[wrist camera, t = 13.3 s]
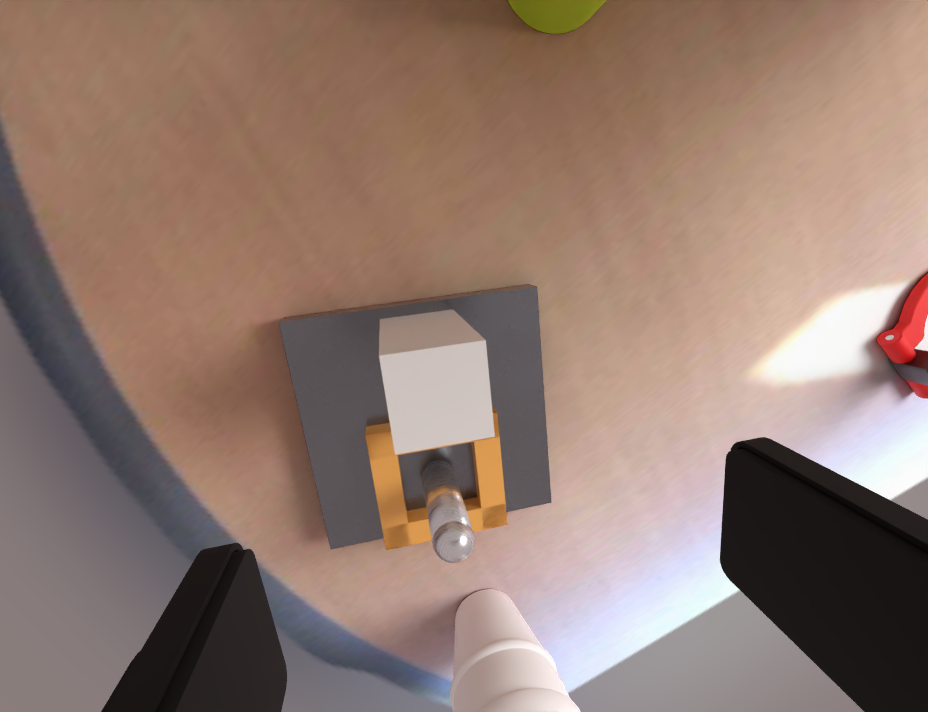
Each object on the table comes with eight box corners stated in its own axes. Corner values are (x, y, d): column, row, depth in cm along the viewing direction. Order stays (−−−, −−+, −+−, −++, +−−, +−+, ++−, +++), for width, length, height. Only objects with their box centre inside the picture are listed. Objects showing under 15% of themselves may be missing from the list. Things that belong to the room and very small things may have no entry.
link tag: (347, 323, 23) (330, 362, 16) (482, 305, 24) (529, 333, 17) (385, 537, 27) (387, 653, 19) (502, 512, 28) (547, 614, 20)
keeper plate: (284, 317, 24) (235, 355, 16) (528, 284, 26) (594, 303, 18) (333, 533, 28) (313, 653, 20) (543, 490, 30) (603, 582, 22)
